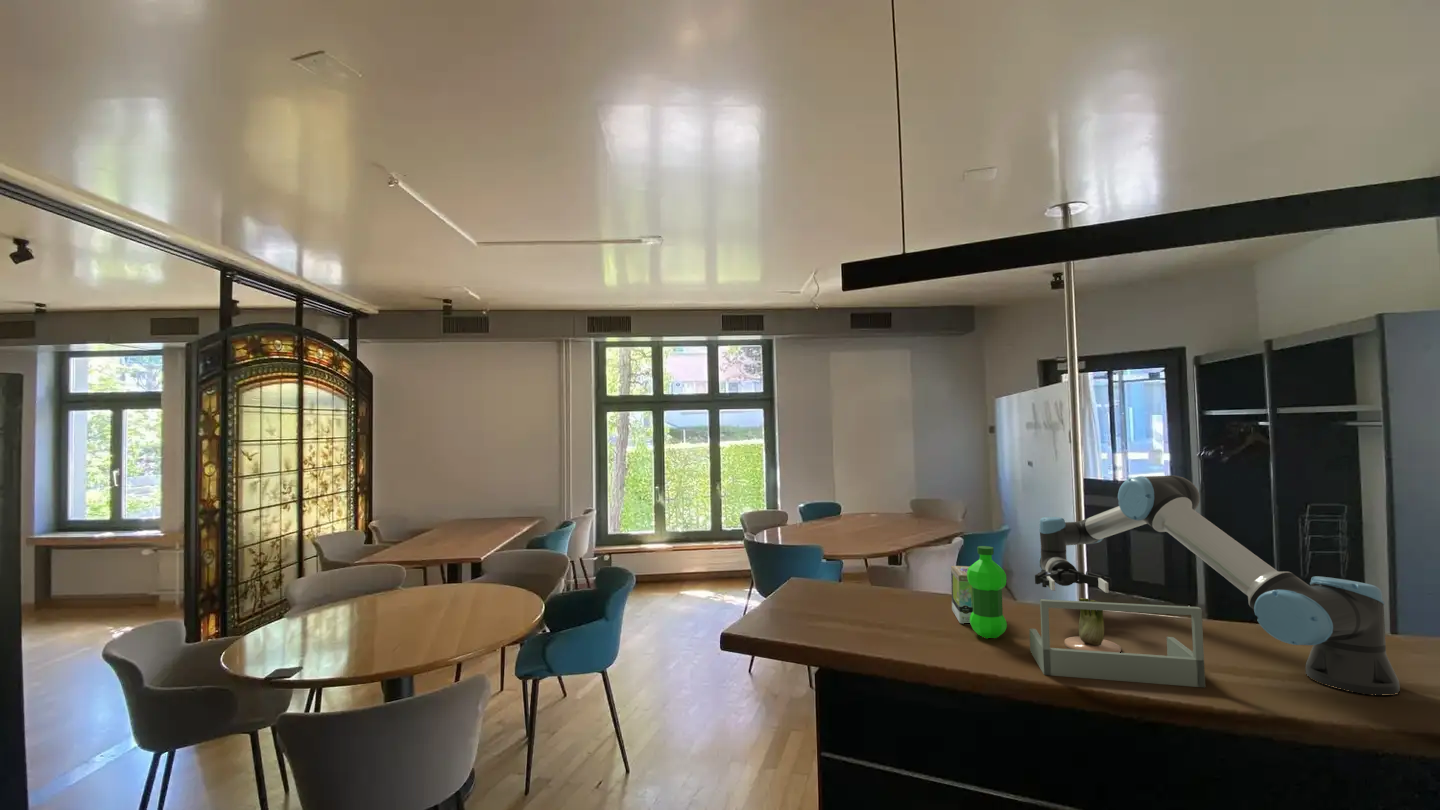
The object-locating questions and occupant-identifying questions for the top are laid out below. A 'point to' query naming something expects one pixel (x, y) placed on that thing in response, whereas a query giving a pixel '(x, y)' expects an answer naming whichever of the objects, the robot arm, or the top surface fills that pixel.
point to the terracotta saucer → (1080, 645)
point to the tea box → (961, 594)
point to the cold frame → (1122, 666)
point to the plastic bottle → (987, 595)
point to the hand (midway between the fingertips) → (1079, 586)
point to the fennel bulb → (1091, 625)
